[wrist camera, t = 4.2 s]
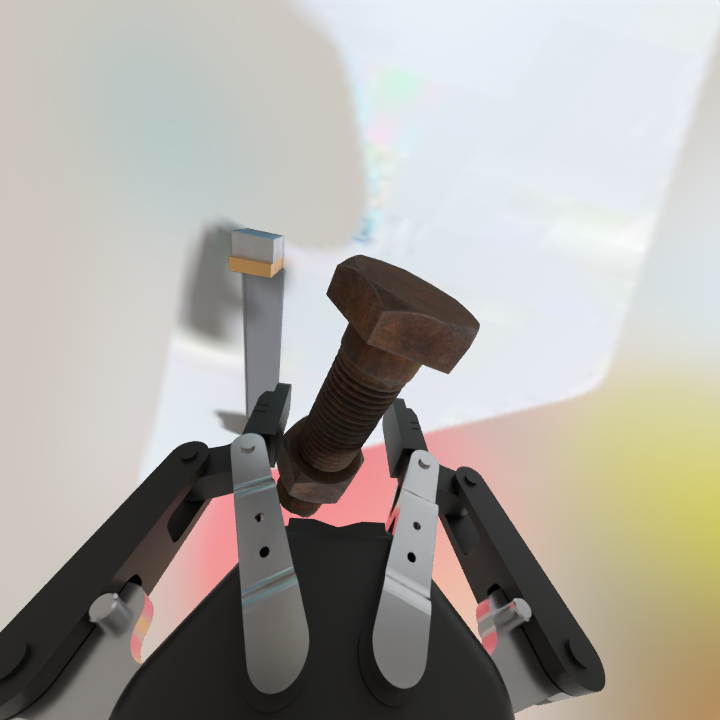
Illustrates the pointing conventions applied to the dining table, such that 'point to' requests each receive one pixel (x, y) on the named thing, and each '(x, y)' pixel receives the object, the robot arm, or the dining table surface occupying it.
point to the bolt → (367, 374)
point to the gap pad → (263, 333)
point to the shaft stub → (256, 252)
